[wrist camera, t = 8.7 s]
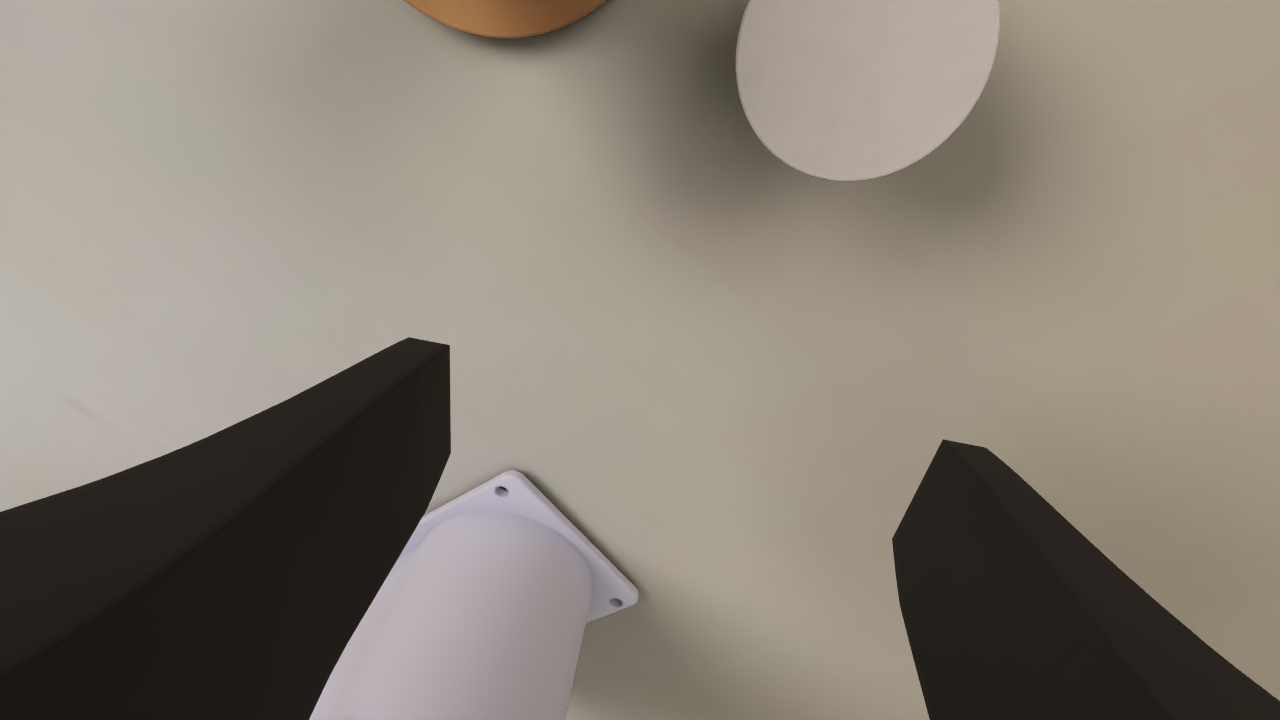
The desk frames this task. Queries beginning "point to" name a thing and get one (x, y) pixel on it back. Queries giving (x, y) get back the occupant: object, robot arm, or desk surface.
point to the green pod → (862, 79)
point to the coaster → (506, 15)
